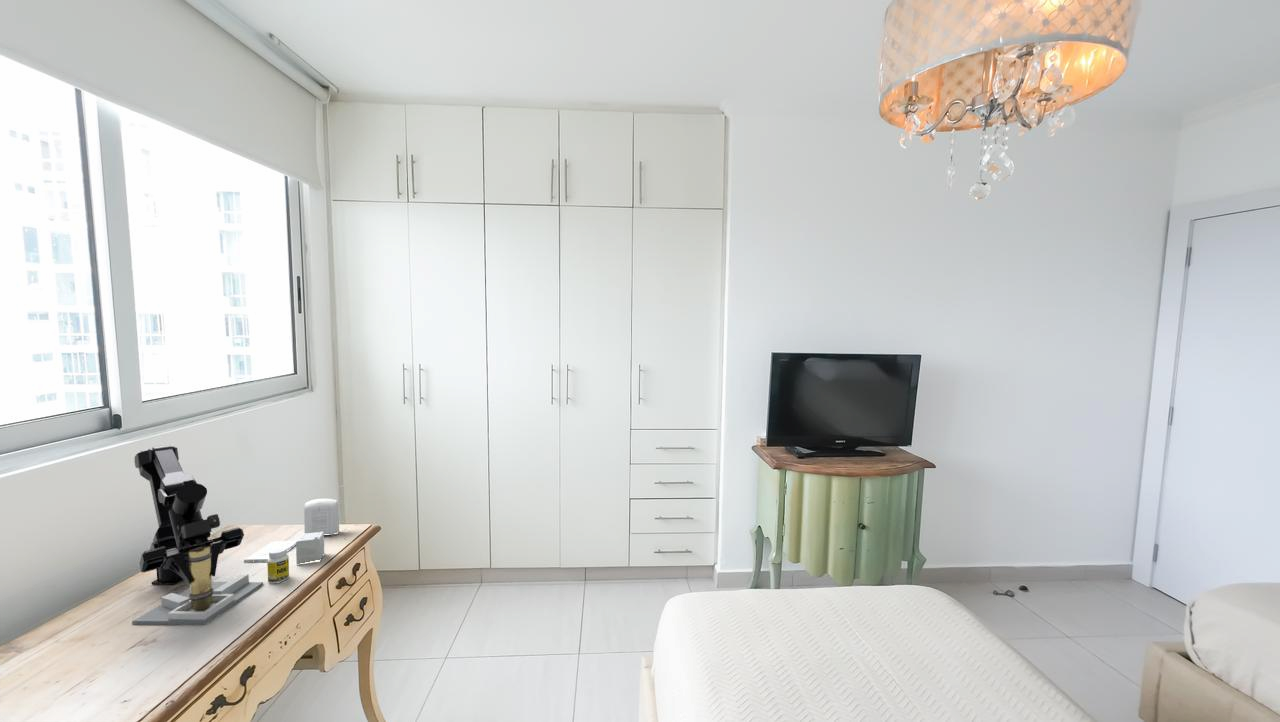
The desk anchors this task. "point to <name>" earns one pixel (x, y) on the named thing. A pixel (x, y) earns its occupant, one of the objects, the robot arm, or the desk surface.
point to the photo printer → (321, 516)
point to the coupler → (200, 577)
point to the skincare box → (309, 547)
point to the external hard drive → (264, 552)
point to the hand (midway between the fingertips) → (202, 579)
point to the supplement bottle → (278, 565)
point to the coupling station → (180, 612)
